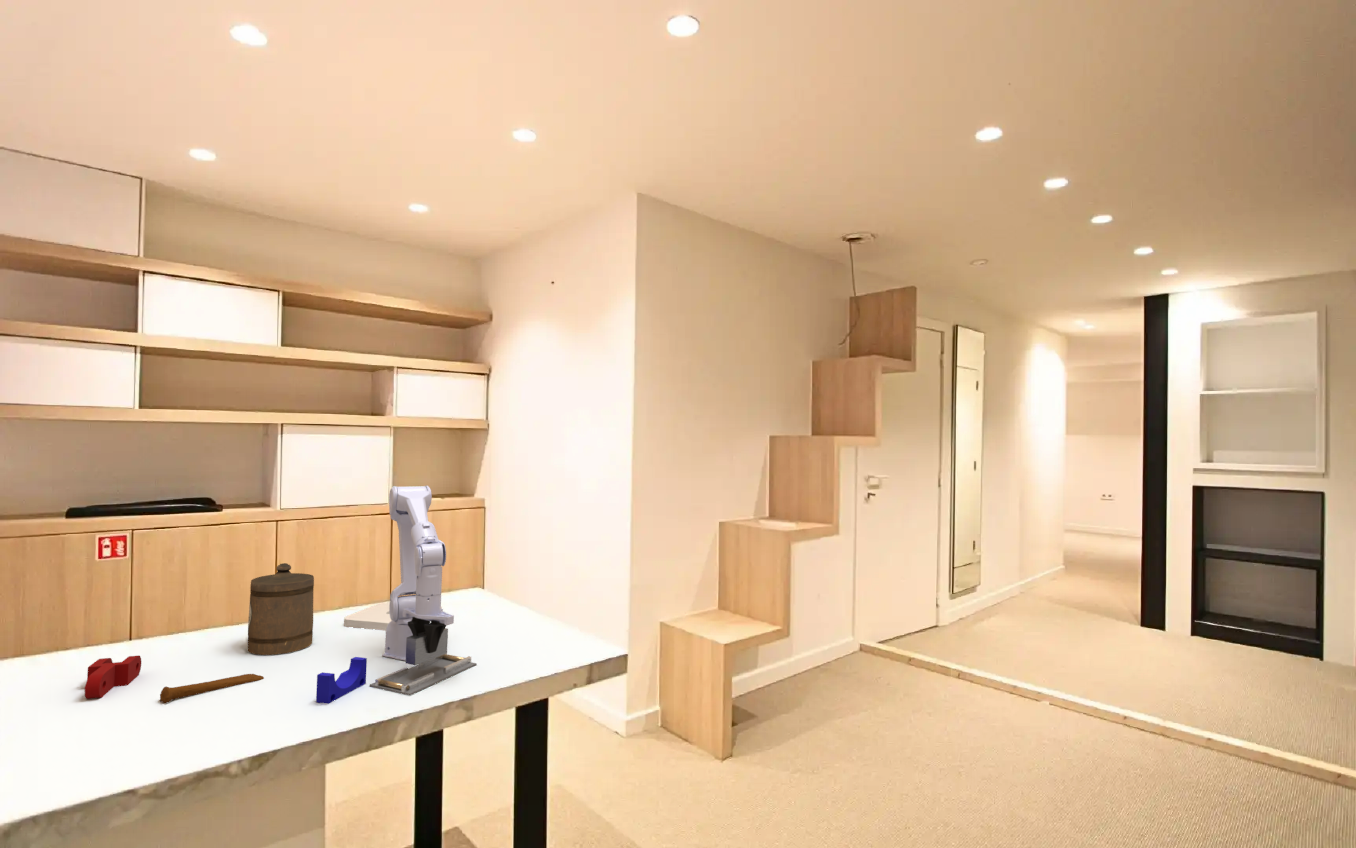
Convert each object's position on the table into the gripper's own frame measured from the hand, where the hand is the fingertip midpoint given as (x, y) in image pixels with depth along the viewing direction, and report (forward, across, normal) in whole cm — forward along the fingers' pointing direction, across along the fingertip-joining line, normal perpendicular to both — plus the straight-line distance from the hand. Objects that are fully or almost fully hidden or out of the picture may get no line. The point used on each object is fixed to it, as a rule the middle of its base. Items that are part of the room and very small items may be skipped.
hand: (426, 650), depth 156 cm
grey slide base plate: (+6, 0, 0) cm, 6 cm away
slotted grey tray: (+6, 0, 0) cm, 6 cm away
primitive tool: (+6, +34, +28) cm, 45 cm away
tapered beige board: (+6, +45, -30) cm, 54 cm away
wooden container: (+6, +49, +3) cm, 49 cm away
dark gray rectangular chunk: (+2, 0, 0) cm, 2 cm away
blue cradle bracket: (+6, +8, +17) cm, 20 cm away
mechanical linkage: (+6, +54, +39) cm, 67 cm away
